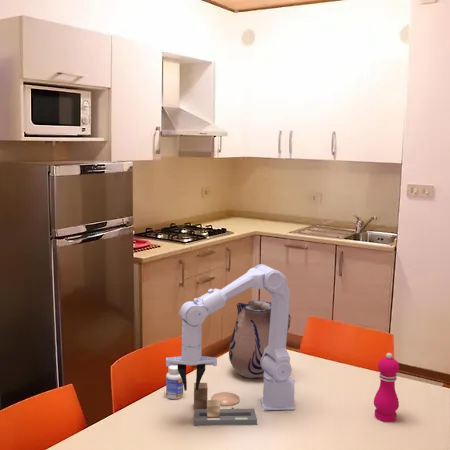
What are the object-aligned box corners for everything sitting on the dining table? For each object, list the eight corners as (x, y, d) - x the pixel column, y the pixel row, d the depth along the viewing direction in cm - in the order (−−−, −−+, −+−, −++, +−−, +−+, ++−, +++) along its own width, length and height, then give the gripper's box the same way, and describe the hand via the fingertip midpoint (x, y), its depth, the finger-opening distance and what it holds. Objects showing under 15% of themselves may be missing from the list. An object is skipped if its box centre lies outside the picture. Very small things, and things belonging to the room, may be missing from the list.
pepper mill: (384, 425, 166) (388, 359, 163) (367, 414, 172) (371, 350, 169) (403, 419, 169) (407, 355, 166) (385, 409, 175) (389, 347, 173)
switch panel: (254, 413, 171) (254, 408, 171) (257, 424, 164) (257, 419, 164) (194, 413, 170) (194, 408, 170) (194, 425, 163) (194, 420, 163)
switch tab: (218, 410, 169) (219, 400, 168) (219, 416, 165) (219, 406, 164) (206, 410, 169) (206, 400, 168) (207, 416, 165) (207, 406, 164)
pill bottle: (180, 400, 179) (180, 370, 177) (163, 398, 180) (164, 369, 178) (185, 393, 184) (185, 364, 183) (169, 391, 185) (169, 362, 184)
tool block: (206, 404, 177) (207, 382, 176) (207, 410, 173) (207, 388, 172) (193, 404, 176) (194, 382, 175) (193, 410, 173) (194, 388, 172)
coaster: (238, 393, 185) (238, 391, 185) (240, 405, 176) (241, 404, 176) (210, 393, 184) (210, 392, 184) (211, 406, 175) (211, 404, 175)
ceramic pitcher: (231, 362, 211) (233, 296, 207) (289, 366, 208) (291, 299, 204) (225, 381, 194) (226, 310, 190) (287, 386, 191) (290, 314, 187)
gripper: (216, 339, 168) (215, 383, 170) (166, 339, 167) (166, 383, 169) (217, 347, 161) (216, 393, 163) (165, 347, 160) (165, 393, 162)
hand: (191, 389), depth 165 cm, fingers open, 3 cm apart
